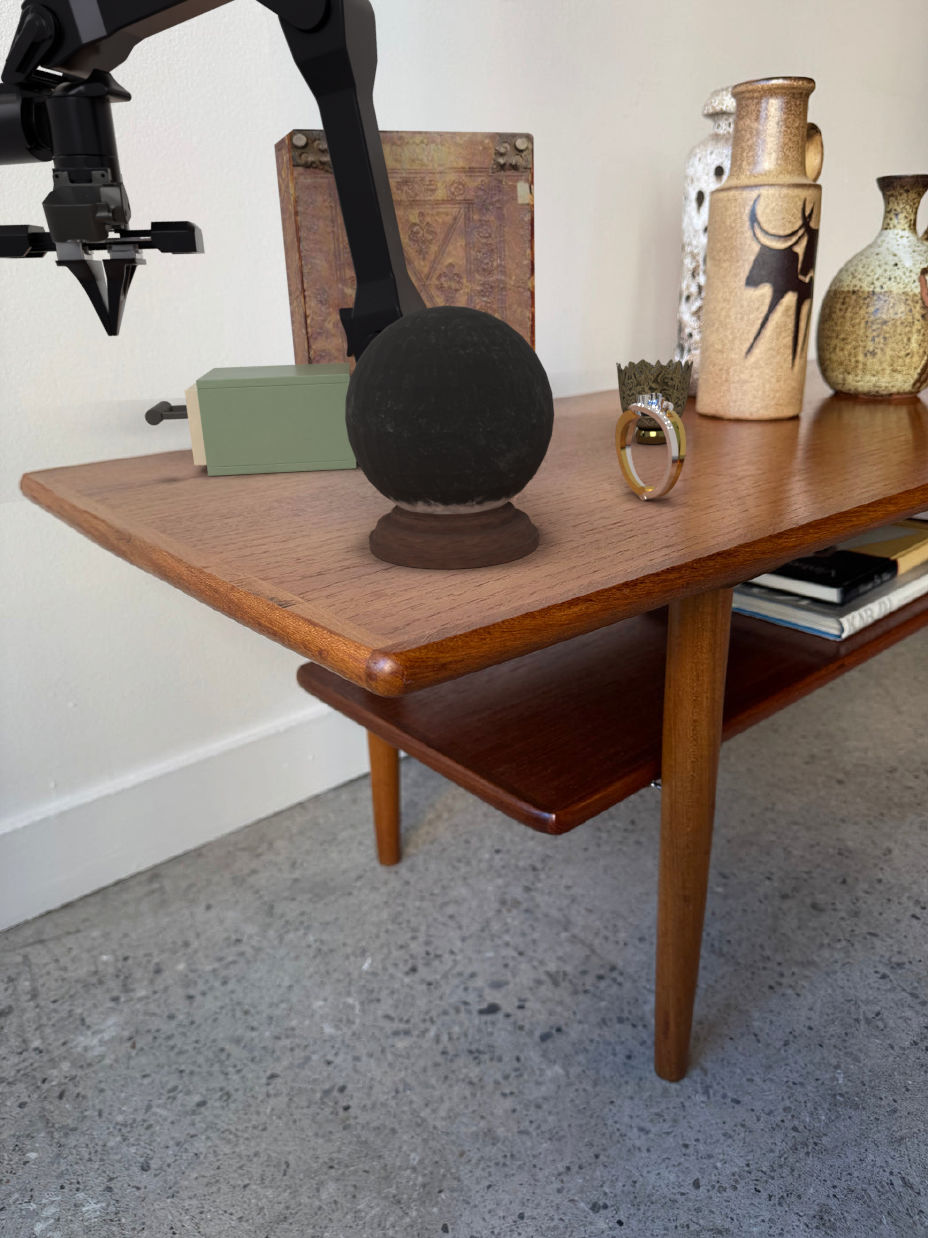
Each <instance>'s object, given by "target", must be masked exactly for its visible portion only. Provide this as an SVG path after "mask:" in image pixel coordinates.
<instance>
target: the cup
mask: <svg viewBox="0 0 928 1238" xmlns="http://www.w3.org/2000/svg"><path fill="white" fill-rule="evenodd" d="M615 365H616V371H617V382H618V383H617V385H618V393H619V394H618V395H619V402H620V407H621V412H622V414H623V413H624V412H626V411H628V410H629V408H628V406H630V405H632V404H634V403H635V397H636V396H638V395H642V402H643V395H645V394H648V396H649V394H651V393H655V400H656V395H657V394H658V393H660V394H662V397H661V398H665V400H664V401H667V402H670V403H672V404H673V406H674V407H673V411H674V412H675V413H676V414H677V415H678V416H679V418H680V419H681V418H682V417H683V416H684V413H685V411H686V410H685V409H686V406H687V403H688V398H689V391H690V386H691V385H690V384H691V380H692V379H691V377H692V372H693V365H694V360H691V361H690V362H689V360H688V359H687V360H686V361H684V363H683V362H682V361H681V360H680V359H678V360H677V361H675V362H674V360H673V359H672V358H671V359H669V360H668V361H667V363H666V364H662V362H661V361H660V359H657V360H656V362H655V363H654V364H653V363H651V362H648V361H646V360H645V359H643V358H641V359H640V360H639V361H638V362H637V363H636V362H634V361H631V360H630V361H628V363H627V365H625V366H624V368H622V365H621V362H619V363H618V362H616V363H615ZM649 400H650V398H649ZM663 409H665V408H663ZM633 436H634V439H635V441H636V442H637V443H640V444H643V445H660V444H664V443H667V441H666V437H665V434H664V431H663V429H662V427H661V426H660V424H659V423H658V422H657V421H656V420H655V419H654V418H653V417H648V416H641V417H640V418H639V420H638V421H637V423H636V425H635V429H634V432H633Z"/></svg>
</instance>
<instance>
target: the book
mask: <svg viewBox="0 0 928 1238" xmlns="http://www.w3.org/2000/svg"><path fill="white" fill-rule="evenodd" d="M379 133H380V138H381V143H382V148H383V153H384V158H385V163H386V168H387V173H388V178H389V183H390V188H391V193H392V198H393V203H394V208H395V212H396V217H397V222H398V227H399V232H400V237H401V242H402V247H403V252H404V257H405V262H406V267H407V271H408V274H409V276H410V278H411V280H412V282H413V283H414V285H415V287H416V288H417V290H418V292H419V294H420V295H421V297H422V299H423V301H424V302H425V304H426V306H427V308H431V307H439V306H461V307H468V308H472V309H475V310H479V311H483V312H486V313H489V314H491V315H493V316H494V317H496V318H498V319H500V320H502V321H504V322H506V323H507V324H508V325H509V326H511V327H512V328H513V329H514V330H516V331H517V332H518V333H519V334H520V335H522V336H523V338H524V339H525V340H526V341H527V343H528V344H529V345H530V346H531V347H532V349H533V350H534V351H535V352H536V265H535V263H536V261H535V260H536V256H535V255H536V252H535V250H536V249H535V248H536V247H535V245H536V244H535V149H534V148H535V141H534V139H535V138H534V135H533V134H532V133H530V132H507V131H505V132H504V131H502V132H501V131H500V132H499V131H447V130H446V131H443V130H441V131H439V130H437V131H436V130H385V129H384V130H381V129H379ZM273 145H274V146H273V147H274V156H275V157H274V158H275V168H276V177H277V188H278V198H279V199H278V201H279V208H280V209H279V210H280V211H279V212H280V220H281V232H282V241H283V242H282V243H283V251H284V262H285V273H286V284H287V294H288V304H289V315H290V325H291V336H292V337H291V338H292V347H293V356H294V357H293V358H294V365H301V364H326V363H350V375H352V373H353V371H354V368H355V366H356V362H355V359H354V356H352V357H347V346H348V345H347V337H346V333H345V330H344V328H343V325H342V323H341V320H340V315H339V309H340V308H348V307H353V304H354V298H355V291H356V277H355V273H354V268H353V263H352V259H351V254H350V250H349V245H348V240H347V236H346V231H345V227H344V222H343V218H342V213H341V208H340V204H339V199H338V195H337V190H336V185H335V181H334V176H333V172H332V167H331V162H330V158H329V153H328V149H327V144H326V140H325V135H324V130H323V128H321V129H319V128H318V129H315V128H293V129H291V130H290V131H289V132H288V133H287V134H286V135H284V136H283V137H282V138H280V139H279V140H278V141H276V142H275V144H273Z"/></svg>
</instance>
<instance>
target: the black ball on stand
mask: <svg viewBox="0 0 928 1238" xmlns="http://www.w3.org/2000/svg"><path fill="white" fill-rule="evenodd" d="M536 352H537V351H536V350H535V351H534V350H533V349H532V347H531V346H530V345H529V344H528V343H527V341H526V340H525V339H524V338H523V336H522V335H520V334H519V333H518V332H517V331H516V330H514V329H513V328H512V327H511V326H509V325H508V324H507V323H506V322H504V321H502V320H500V319H498V318H496V317H494V316H493V315H491V314H489V313H486V312H483V311H479V310H475V309H472V308H468V307H461V306H439V307H431V308H425V309H422V310H419V311H416V312H413V313H410V314H408V315H405V316H403V317H402V318H400V319H398V320H397V321H395V322H394V323H392V324H390V325H389V326H387V327H386V328H385V329H384V330H383V331H382V332H381V333H380V334H378V335H377V336H376V337H375V338H374V339H373V340H372V341H371V342H370V344H369V345H368V346H367V348H366V349H365V351H364V352H363V354H362V355H361V356H360V358H359V359H358V362H357V364H356V366H355V368H354V371H353V373H352V375H351V378H350V381H349V386H348V390H347V395H346V403H345V422H346V428H347V434H348V439H349V443H350V445H351V448H352V450H353V453H354V456H355V458H356V464H357V465H358V466H359V468H360V470H361V471H362V473H363V474H364V476H365V478H366V479H367V481H368V482H369V483H370V484H371V485H372V486H373V487H374V488H375V489H376V490H377V492H379V493H380V494H381V496H383V497H385V498H386V499H388V500H389V501H390V502H392V503H394V504H395V506H393V508H392V509H391V510H390V512H388V513H386V514H384V515H382V516H381V517H380V518H378V520H377V522H376V525H375V528H374V529H372V531H370V533H369V535H368V542H369V543H368V544H369V551H370V553H371V554H372V555H373V556H374V557H376V558H378V559H379V560H382V561H384V562H387V563H390V564H393V565H398V566H403V567H408V568H419V569H433V570H458V569H459V570H460V569H462V570H463V569H472V568H482V567H488V566H495V565H500V564H504V563H509V562H513V561H515V560H518V559H522V558H524V557H526V556H528V555H529V554H531V553H533V552H534V551H535V550H536V549H537V547H538V546H539V528H538V527H537V526H536V525H535V524H534V523H532V519H531V518H530V516H529V514H528V513H526V512H525V511H523V510H522V509H520V508H516V506H515V505H514V503H512V502H511V500H512V499H513V498H515V497H516V496H517V495H519V494H520V493H521V492H522V491H523V490H524V489H525V487H526V486H527V485H528V484H529V483H530V482H531V480H532V479H533V478H534V477H535V475H536V474H537V472H538V471H539V468H540V467H541V466H542V463H543V462H544V460H545V457H546V455H547V453H548V450H549V446H550V443H551V440H552V437H553V430H554V421H555V406H554V396H553V391H552V387H551V384H550V381H549V377H548V374H547V371H546V369H545V367H544V365H543V363H542V362H541V360H540V357H539V356H538V353H536Z"/></svg>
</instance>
